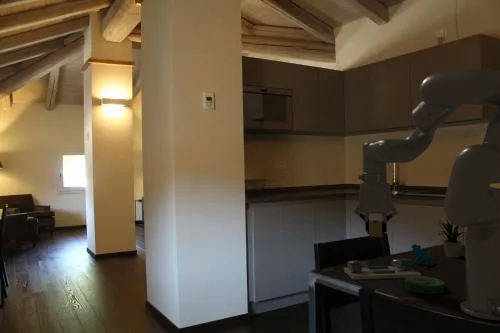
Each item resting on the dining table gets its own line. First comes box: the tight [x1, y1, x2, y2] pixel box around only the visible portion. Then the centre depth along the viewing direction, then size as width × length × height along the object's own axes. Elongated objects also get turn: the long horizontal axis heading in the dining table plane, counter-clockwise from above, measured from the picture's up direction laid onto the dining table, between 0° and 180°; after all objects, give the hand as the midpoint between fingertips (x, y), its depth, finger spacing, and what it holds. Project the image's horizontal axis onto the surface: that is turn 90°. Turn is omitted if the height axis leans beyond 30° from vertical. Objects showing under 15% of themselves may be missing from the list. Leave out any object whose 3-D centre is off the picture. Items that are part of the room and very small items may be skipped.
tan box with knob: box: [368, 219, 384, 238], centre depth 134 cm, size 6×4×5 cm, turn 159°
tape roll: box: [404, 275, 446, 295], centre depth 123 cm, size 11×11×3 cm
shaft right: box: [391, 257, 414, 271], centre depth 142 cm, size 7×4×4 cm, turn 107°
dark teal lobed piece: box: [411, 243, 435, 267], centre depth 155 cm, size 11×6×10 cm
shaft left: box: [346, 259, 370, 273], centre depth 141 cm, size 7×4×4 cm, turn 92°
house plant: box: [435, 218, 466, 258], centre depth 168 cm, size 14×14×16 cm
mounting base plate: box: [343, 265, 422, 281], centre depth 141 cm, size 12×23×2 cm, turn 92°
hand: (376, 233), depth 133 cm, fingers closed on tan box with knob, 4 cm apart
